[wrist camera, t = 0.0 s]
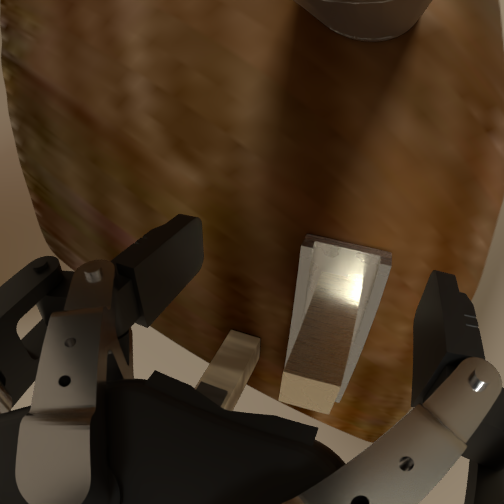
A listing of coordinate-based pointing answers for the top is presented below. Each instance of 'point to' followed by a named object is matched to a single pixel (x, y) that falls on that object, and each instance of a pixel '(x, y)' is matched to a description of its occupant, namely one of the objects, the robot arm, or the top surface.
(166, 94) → the top surface
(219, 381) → the beige tall rectangular block
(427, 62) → the top surface
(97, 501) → the robot arm
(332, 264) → the rail
